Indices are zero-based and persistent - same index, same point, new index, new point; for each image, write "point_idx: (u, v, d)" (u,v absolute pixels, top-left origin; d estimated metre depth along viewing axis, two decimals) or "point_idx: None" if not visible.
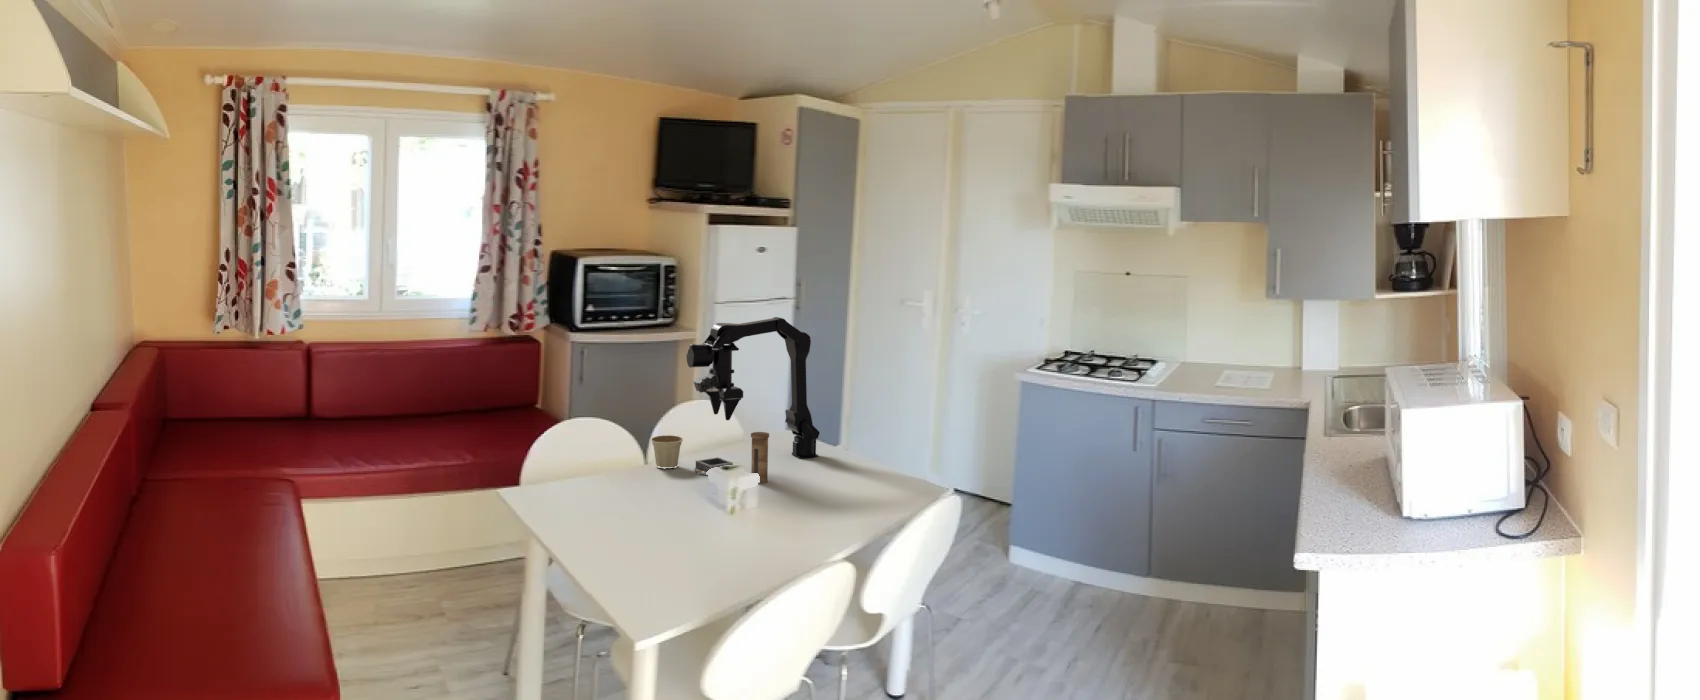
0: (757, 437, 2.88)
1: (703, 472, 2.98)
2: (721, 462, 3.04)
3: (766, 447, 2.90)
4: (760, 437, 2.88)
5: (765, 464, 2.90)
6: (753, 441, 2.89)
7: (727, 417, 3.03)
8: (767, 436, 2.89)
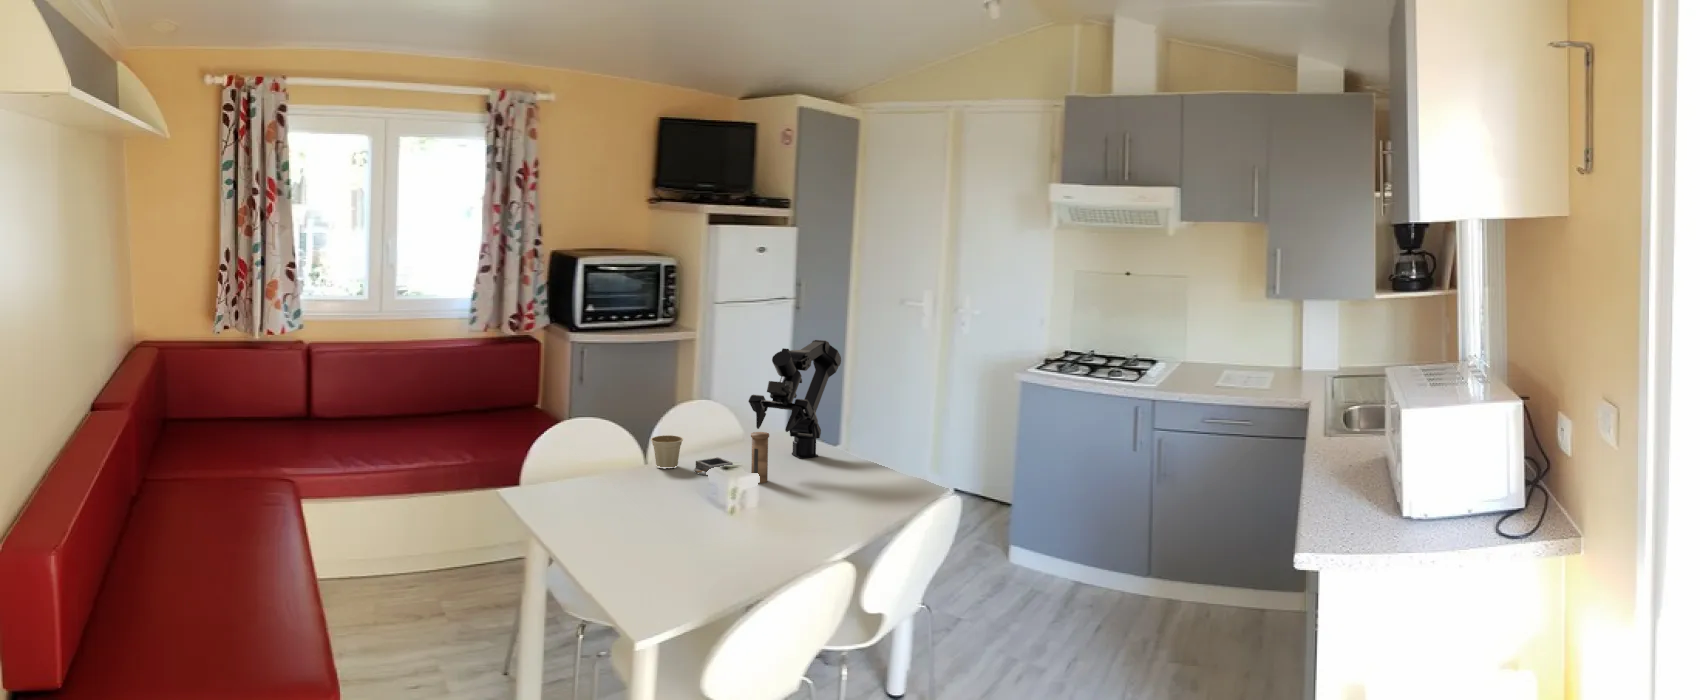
0: (757, 437, 2.88)
1: (703, 472, 2.98)
2: (721, 462, 3.04)
3: (766, 447, 2.90)
4: (760, 437, 2.88)
5: (765, 464, 2.90)
6: (753, 441, 2.89)
7: (788, 428, 2.96)
8: (767, 436, 2.89)
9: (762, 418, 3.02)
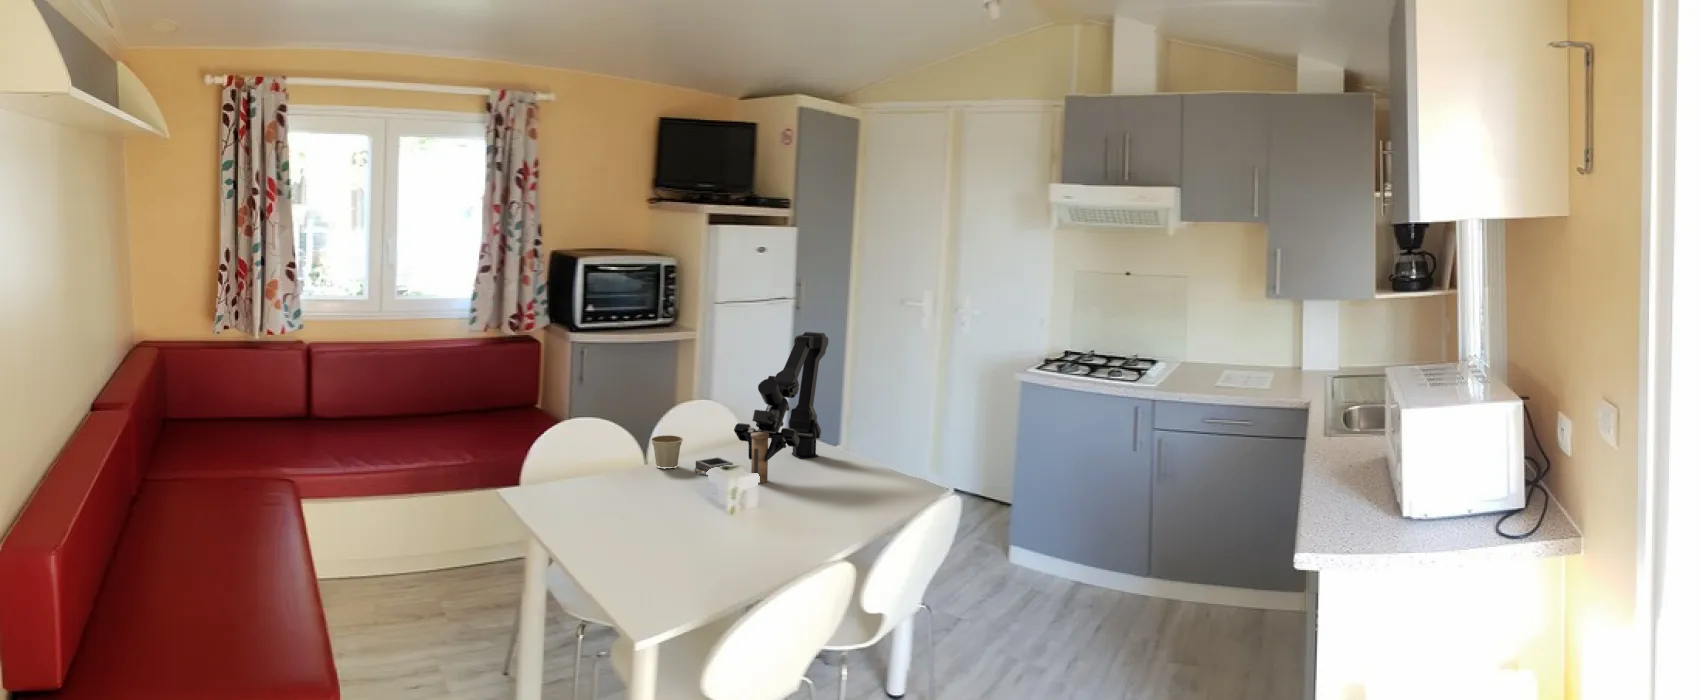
0: (757, 437, 2.88)
1: (703, 472, 2.98)
2: (721, 462, 3.04)
3: (766, 447, 2.90)
4: (760, 437, 2.88)
5: (765, 464, 2.90)
6: (753, 441, 2.89)
7: (767, 457, 2.89)
8: (767, 436, 2.89)
9: None
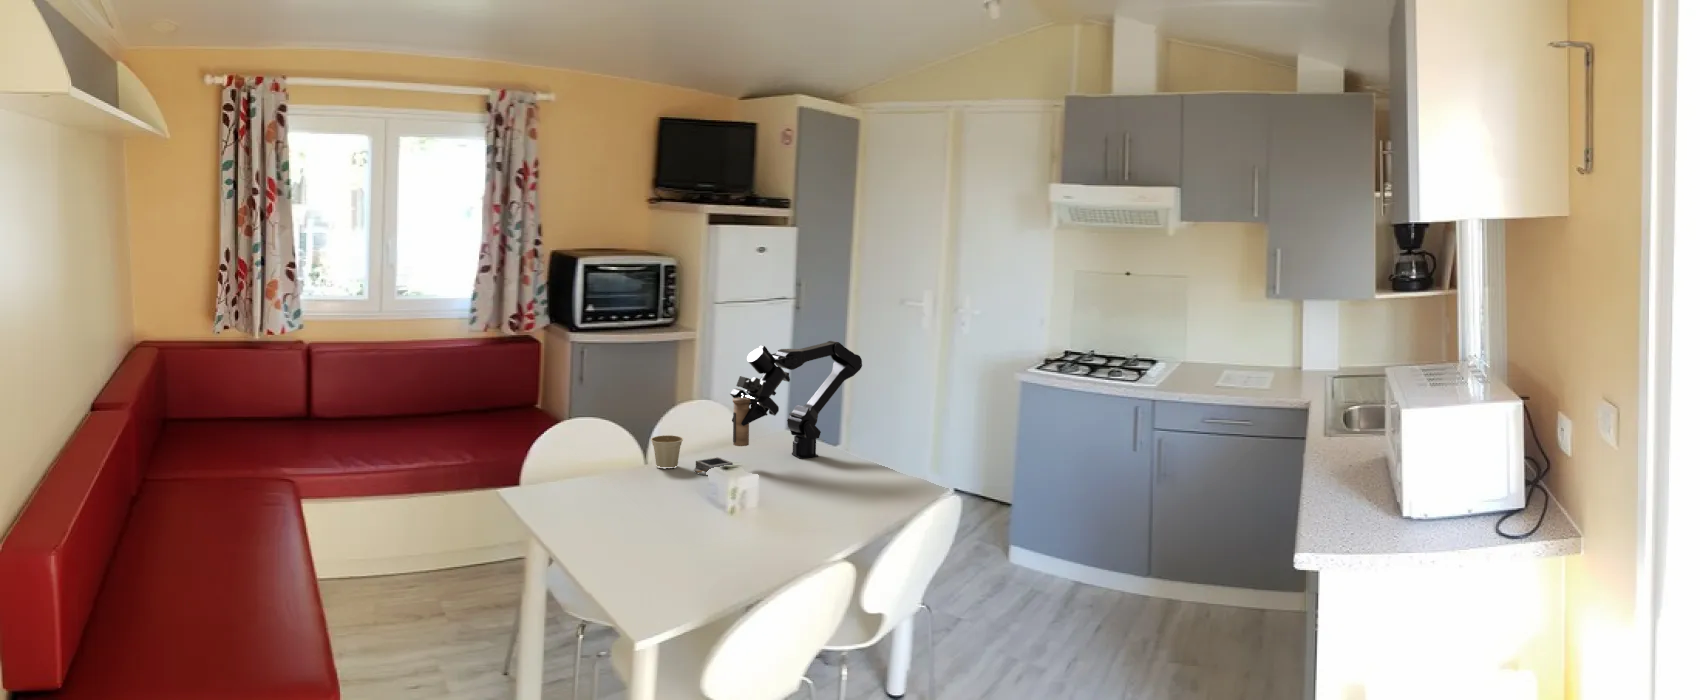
0: (735, 401, 3.03)
1: (703, 472, 2.98)
2: (721, 462, 3.04)
3: (744, 412, 3.03)
4: (737, 402, 3.03)
5: (743, 428, 3.04)
6: None
7: (744, 422, 3.03)
8: (745, 401, 3.03)
9: None
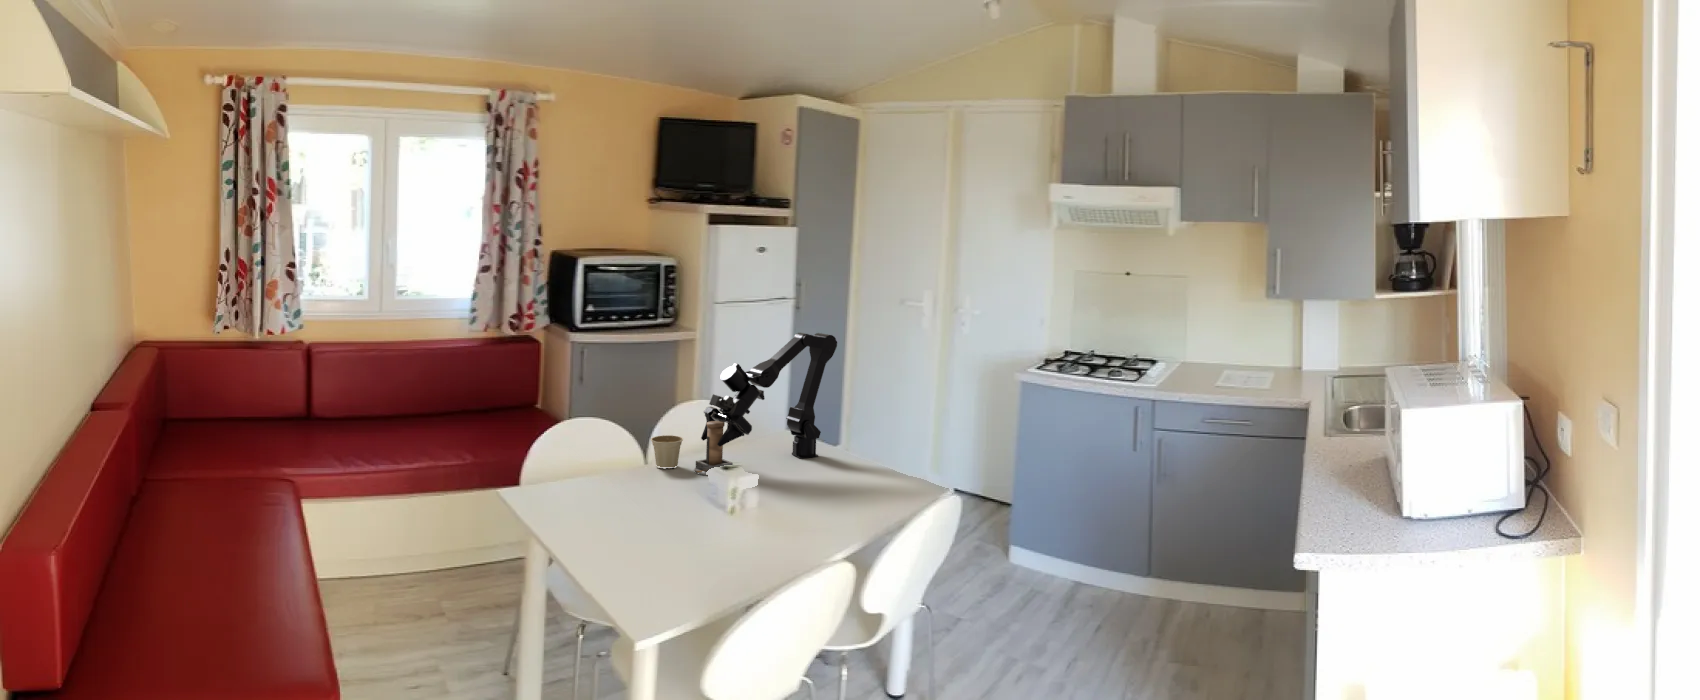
0: (708, 425, 2.98)
1: (703, 472, 2.98)
2: None
3: (718, 436, 2.99)
4: (711, 426, 2.98)
5: (716, 453, 2.99)
6: (707, 429, 3.00)
7: (720, 443, 2.96)
8: (718, 426, 2.98)
9: None
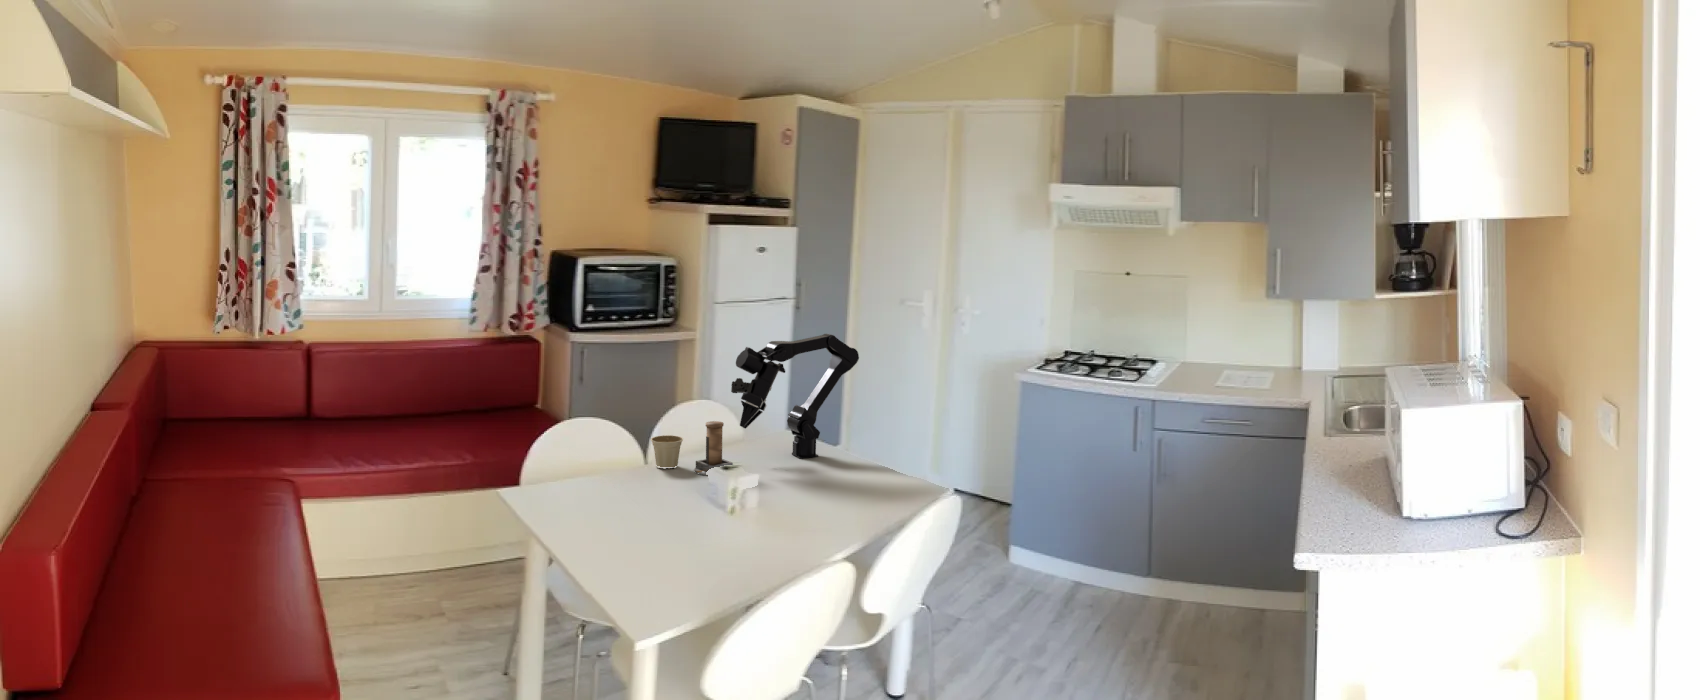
0: (707, 425, 2.98)
1: (703, 472, 2.98)
2: None
3: (717, 436, 2.99)
4: (710, 426, 2.98)
5: (716, 453, 2.99)
6: None
7: (741, 423, 3.05)
8: (717, 426, 2.98)
9: (752, 417, 3.15)
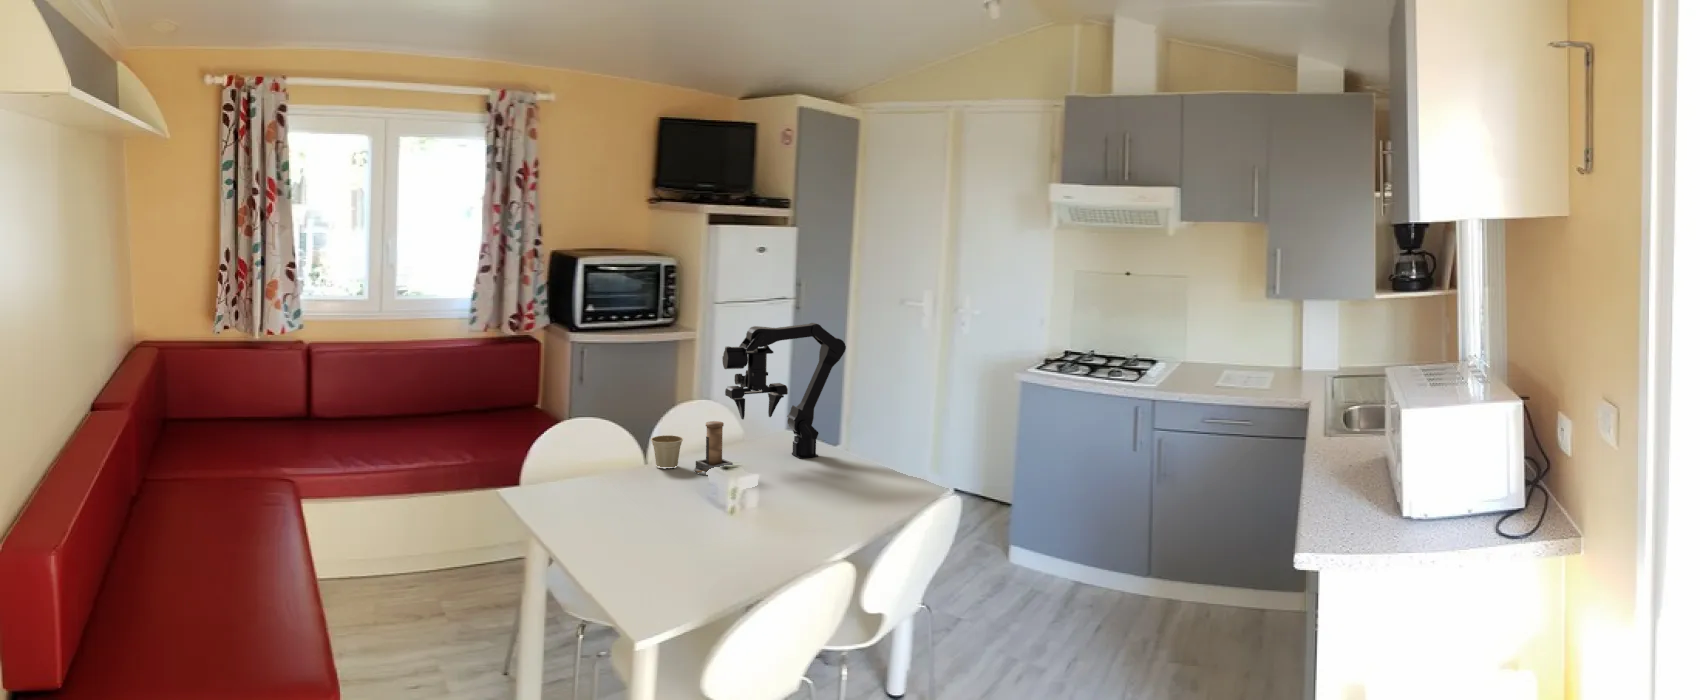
0: (707, 425, 2.98)
1: (703, 472, 2.98)
2: None
3: (717, 436, 2.99)
4: (710, 426, 2.98)
5: (716, 453, 2.99)
6: None
7: (741, 416, 3.13)
8: (717, 426, 2.98)
9: (772, 404, 3.16)
